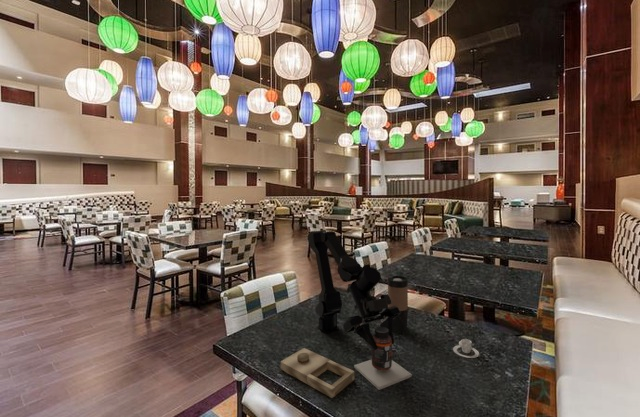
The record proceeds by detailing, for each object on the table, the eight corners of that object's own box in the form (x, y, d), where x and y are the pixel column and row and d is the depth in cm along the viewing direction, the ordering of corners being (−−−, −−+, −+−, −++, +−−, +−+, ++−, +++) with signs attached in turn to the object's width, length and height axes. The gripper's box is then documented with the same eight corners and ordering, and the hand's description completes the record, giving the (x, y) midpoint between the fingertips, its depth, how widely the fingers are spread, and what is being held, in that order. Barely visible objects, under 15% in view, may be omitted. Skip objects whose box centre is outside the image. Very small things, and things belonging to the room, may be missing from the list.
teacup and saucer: (459, 343, 110) (459, 332, 109) (483, 351, 104) (483, 340, 103) (449, 352, 103) (449, 341, 103) (473, 362, 98) (474, 349, 97)
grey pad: (354, 367, 95) (354, 365, 95) (384, 357, 101) (384, 354, 101) (379, 390, 85) (379, 387, 85) (411, 376, 90) (411, 374, 90)
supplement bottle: (393, 371, 90) (393, 334, 89) (372, 371, 90) (372, 334, 89) (389, 360, 96) (390, 325, 95) (370, 359, 96) (370, 324, 95)
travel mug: (408, 333, 116) (408, 282, 115) (387, 332, 118) (387, 281, 116) (406, 324, 124) (407, 276, 122) (387, 323, 125) (387, 275, 124)
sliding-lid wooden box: (354, 379, 89) (354, 367, 89) (332, 398, 82) (331, 385, 81) (304, 355, 103) (303, 344, 103) (280, 369, 95) (280, 357, 95)
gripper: (348, 291, 90) (371, 345, 81) (397, 281, 99) (422, 328, 90) (334, 308, 98) (354, 358, 89) (381, 297, 106) (403, 342, 97)
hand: (384, 346), depth 91 cm, fingers closed on supplement bottle, 6 cm apart
